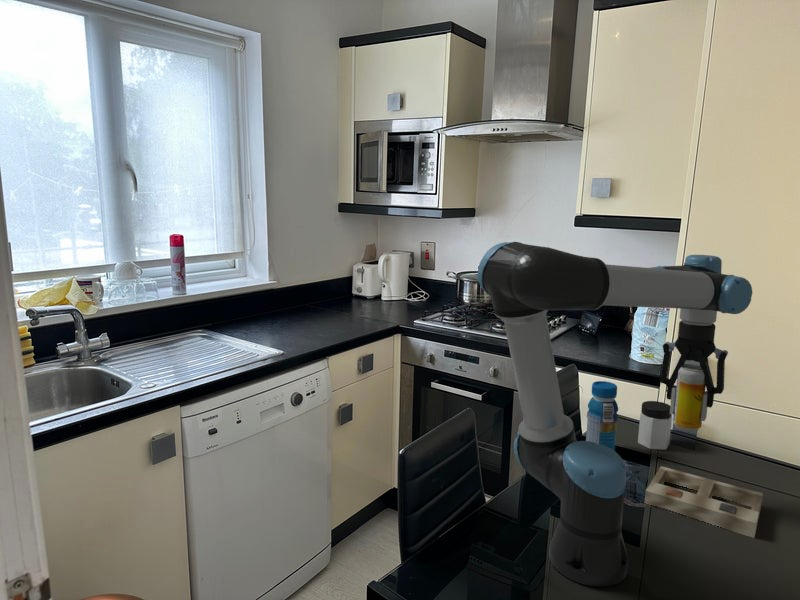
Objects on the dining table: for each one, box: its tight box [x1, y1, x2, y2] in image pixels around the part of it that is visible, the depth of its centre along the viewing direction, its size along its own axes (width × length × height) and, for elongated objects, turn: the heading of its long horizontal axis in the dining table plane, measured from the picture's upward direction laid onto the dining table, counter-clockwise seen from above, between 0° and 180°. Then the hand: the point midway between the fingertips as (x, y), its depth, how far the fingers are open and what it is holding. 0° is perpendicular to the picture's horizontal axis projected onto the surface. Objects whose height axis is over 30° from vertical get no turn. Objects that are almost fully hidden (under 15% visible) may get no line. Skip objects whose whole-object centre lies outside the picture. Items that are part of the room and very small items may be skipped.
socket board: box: [644, 465, 764, 539], centre depth 134 cm, size 22×16×4 cm
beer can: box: [672, 363, 706, 432], centre depth 134 cm, size 6×6×15 cm
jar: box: [637, 400, 673, 451], centre depth 166 cm, size 9×8×12 cm
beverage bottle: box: [585, 380, 619, 452], centre depth 161 cm, size 8×8×20 cm
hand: (687, 415), depth 135 cm, fingers closed on beer can, 6 cm apart
